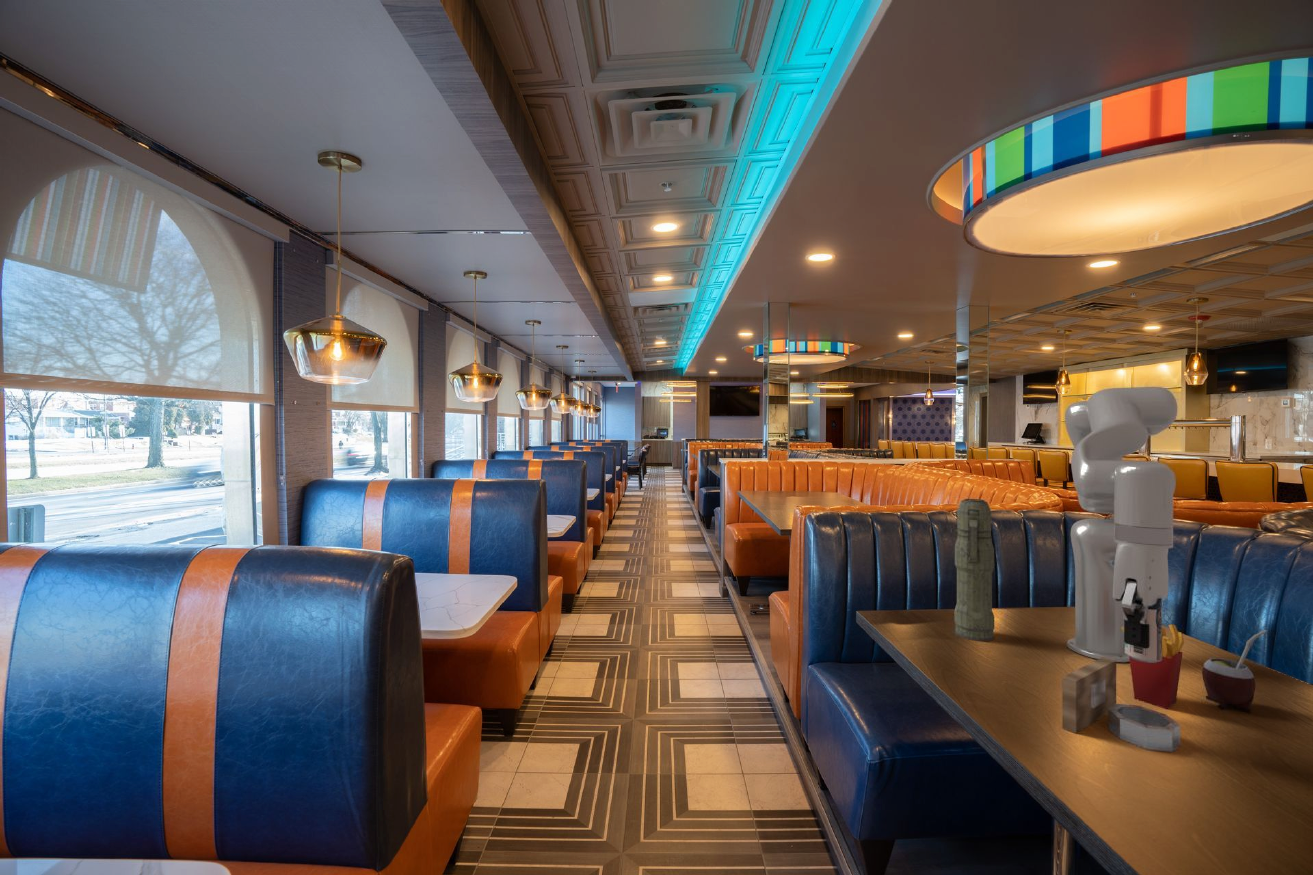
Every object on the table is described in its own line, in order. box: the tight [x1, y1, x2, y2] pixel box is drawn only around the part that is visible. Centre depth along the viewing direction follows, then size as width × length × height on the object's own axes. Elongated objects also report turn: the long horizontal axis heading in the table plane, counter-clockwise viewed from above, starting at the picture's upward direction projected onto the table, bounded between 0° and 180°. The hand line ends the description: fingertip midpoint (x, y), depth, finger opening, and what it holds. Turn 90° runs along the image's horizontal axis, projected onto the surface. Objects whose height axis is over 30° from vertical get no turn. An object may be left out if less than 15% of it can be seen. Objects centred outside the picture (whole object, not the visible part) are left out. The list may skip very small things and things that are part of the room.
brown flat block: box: [1061, 657, 1117, 734], centre depth 100 cm, size 17×2×9 cm, turn 122°
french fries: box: [1121, 624, 1185, 710], centre depth 107 cm, size 9×8×15 cm
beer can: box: [1125, 595, 1163, 663], centre depth 93 cm, size 5×5×12 cm
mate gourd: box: [1201, 629, 1268, 714], centre depth 104 cm, size 8×8×15 cm
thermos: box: [953, 498, 995, 642], centre depth 142 cm, size 9×12×35 cm
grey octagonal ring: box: [1107, 703, 1181, 753], centre depth 93 cm, size 8×8×4 cm
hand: (1143, 641), depth 93 cm, fingers closed on beer can, 4 cm apart
